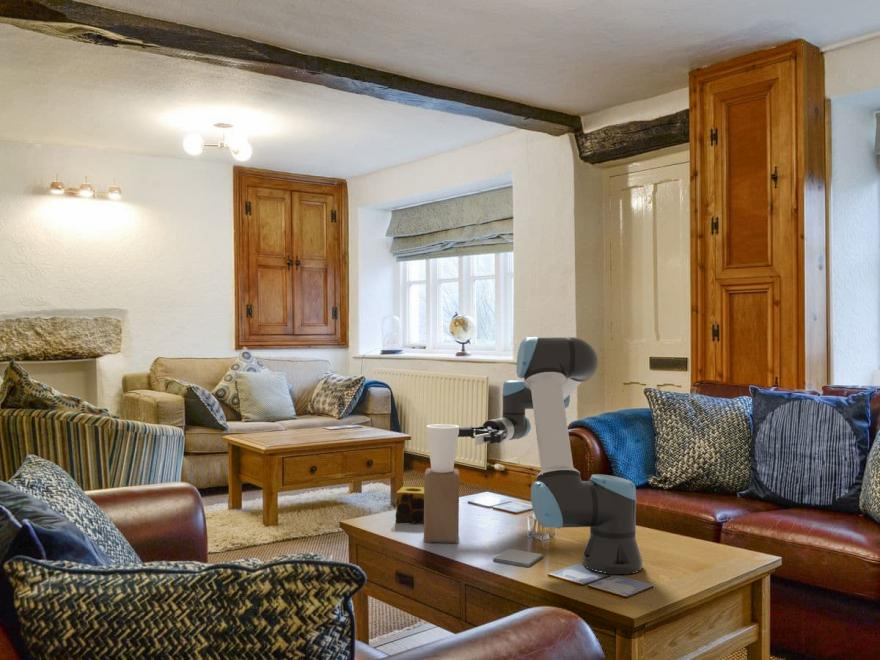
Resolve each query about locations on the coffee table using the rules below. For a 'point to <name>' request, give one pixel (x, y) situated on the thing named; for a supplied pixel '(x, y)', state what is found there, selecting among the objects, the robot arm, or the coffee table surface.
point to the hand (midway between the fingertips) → (457, 437)
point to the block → (441, 506)
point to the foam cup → (442, 446)
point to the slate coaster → (518, 557)
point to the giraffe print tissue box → (410, 505)
